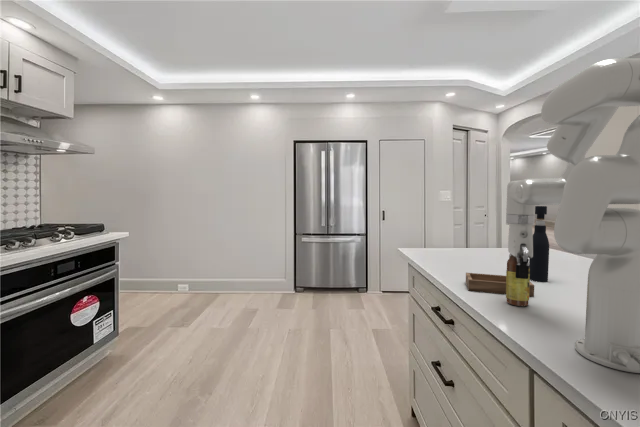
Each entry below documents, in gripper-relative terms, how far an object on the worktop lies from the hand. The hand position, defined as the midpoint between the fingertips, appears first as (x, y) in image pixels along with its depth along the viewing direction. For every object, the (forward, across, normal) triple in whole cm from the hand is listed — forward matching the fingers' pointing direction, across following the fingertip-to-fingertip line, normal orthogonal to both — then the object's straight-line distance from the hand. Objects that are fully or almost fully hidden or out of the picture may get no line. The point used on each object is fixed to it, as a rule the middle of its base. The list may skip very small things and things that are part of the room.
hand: (517, 274), depth 98 cm
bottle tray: (+9, +15, +3) cm, 18 cm away
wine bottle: (+10, +35, -15) cm, 39 cm away
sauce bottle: (+10, 0, 0) cm, 10 cm away
